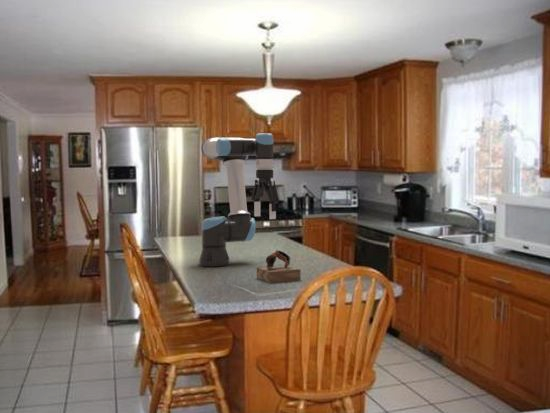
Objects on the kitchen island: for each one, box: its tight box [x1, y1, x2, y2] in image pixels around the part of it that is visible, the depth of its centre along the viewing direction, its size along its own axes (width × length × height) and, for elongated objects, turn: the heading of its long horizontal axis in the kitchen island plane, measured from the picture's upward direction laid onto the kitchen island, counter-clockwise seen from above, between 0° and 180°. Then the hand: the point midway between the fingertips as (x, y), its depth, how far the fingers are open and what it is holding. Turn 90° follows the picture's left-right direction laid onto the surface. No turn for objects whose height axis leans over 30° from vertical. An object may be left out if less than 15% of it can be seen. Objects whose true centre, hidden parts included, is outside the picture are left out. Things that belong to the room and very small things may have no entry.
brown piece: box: [265, 250, 291, 268], centre depth 241 cm, size 12×9×8 cm
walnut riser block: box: [256, 264, 301, 284], centre depth 241 cm, size 14×14×5 cm
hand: (264, 217), depth 247 cm, fingers open, 13 cm apart
